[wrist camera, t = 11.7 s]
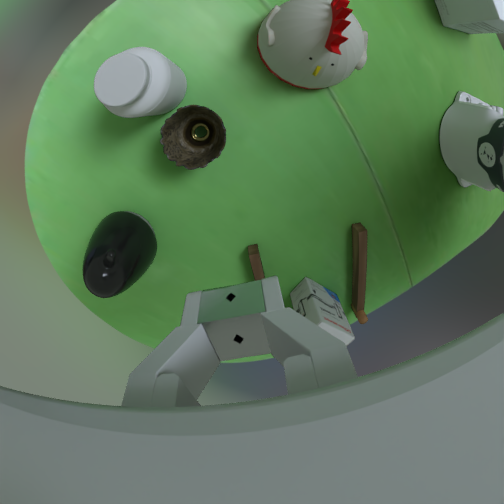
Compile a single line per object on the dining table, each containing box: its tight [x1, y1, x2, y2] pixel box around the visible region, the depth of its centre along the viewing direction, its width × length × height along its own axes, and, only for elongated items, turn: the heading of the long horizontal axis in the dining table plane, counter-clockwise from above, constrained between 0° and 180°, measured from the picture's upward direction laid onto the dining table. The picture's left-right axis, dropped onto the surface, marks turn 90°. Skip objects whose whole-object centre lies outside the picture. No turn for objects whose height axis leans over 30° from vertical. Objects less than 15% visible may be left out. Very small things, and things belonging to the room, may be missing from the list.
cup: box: [160, 105, 226, 170], centre depth 31 cm, size 8×7×8 cm
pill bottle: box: [94, 47, 187, 118], centre depth 24 cm, size 8×8×15 cm
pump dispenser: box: [83, 211, 157, 298], centre depth 34 cm, size 10×10×15 cm
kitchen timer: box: [257, 0, 368, 89], centre depth 22 cm, size 14×14×15 cm
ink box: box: [290, 277, 355, 346], centre depth 44 cm, size 9×5×12 cm, turn 55°
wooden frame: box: [248, 223, 368, 324], centre depth 45 cm, size 22×19×7 cm
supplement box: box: [435, 0, 504, 34], centre depth 15 cm, size 9×9×15 cm
